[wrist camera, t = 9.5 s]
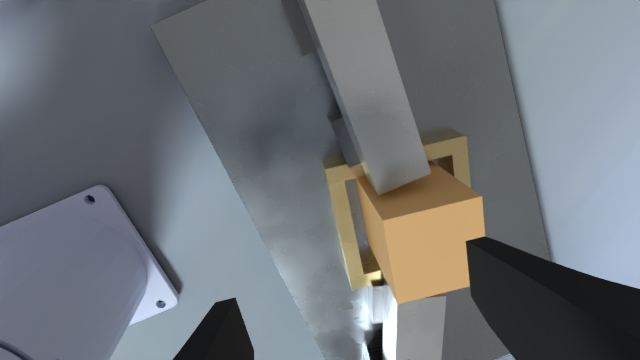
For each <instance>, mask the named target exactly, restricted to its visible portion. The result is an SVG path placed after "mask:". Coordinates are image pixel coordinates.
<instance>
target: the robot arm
mask: <svg viewBox="0 0 640 360" xmlns="http://www.w3.org/2000/svg"><path fill="white" fill-rule="evenodd" d="M88 195H91V196H93V197H94V199H95V202H92V201H90V200H89V199H88ZM466 250H467V261H468V271H469V282H470V292H471V297H472V299H473V300H474V302H475V304H476V306H477V307H478V309H479V311H480V312H481V314H482V316H483V317H484V319H485V320H486V322H487V324H488V325H489V326H490V328H491V329H492V330H493V332H494V333H495V334H496V335H497V337H498V338H499V339H500V341H501V342H502V343H503V344H504V346H505V347H506V348H507V349H508V351H509V352H510V353H511V354H512V356H513V357H514V358H515V359H516V360H640V289H637V288H634V287H630V286H626V285H622V284H619V283H615V282H611V281H608V280H604V279H601V278H598V277H594V276H591V275H588V274H585V273H582V272H579V271H576V270H573V269H570V268H567V267H564V266H562V265H559V264H556V263H553V262H551V261H548V260H545V259H543V258H540V257H538V256H535V255H532V254H530V253H527V252H525V251H522V250H520V249H517V248H515V247H512V246H510V245H507V244H505V243H502V242H500V241H497V240H494V239H492V238H489V237H485V236H484V237H480V238H476V239H472V240H468V241H466ZM159 300H162V301H164V302H165V304H161V303H160V302H159ZM178 301H179V294H178V293H177V291H176V289H175V288H174V286H173V285H172V283H171V282H170V280H169V279H168V277H167V276H166V274H165V273H164V271H163V270H162V268H161V267H160V265H159V264H158V262H157V261H156V259H155V258H154V256H153V254H152V253H151V251H150V250H149V248H148V247H147V245H146V244H145V242H144V241H143V239H142V238H141V236H140V235H139V233H138V232H137V230H136V229H135V227H134V226H133V224H132V222H131V221H130V219H129V218H128V216H127V215H126V213H125V212H124V210H123V209H122V207H121V206H120V204H119V203H118V201H117V200H116V198H115V197H114V195H113V194H112V192H111V190H110V189H109V188H108V187H106V186H104V185H96V186H93V187H91V188H89V189H87V190H84V191H82V192H80V193H77V194H75V195H73V196H70V197H68V198H66V199H63V200H61V201H59V202H56V203H54V204H52V205H49V206H47V207H45V208H42V209H40V210H38V211H36V212H33V213H31V214H29V215H26V216H24V217H22V218H19V219H17V220H15V221H12V222H10V223H8V224H5V225H3V226H1V227H0V360H109V359H110V358H111V356H112V354H113V352H114V350H115V349H116V347H117V345H118V343H119V341H120V340H121V338H122V336H123V334H124V332H125V331H126V329H127V327H128V326H129V325H132V324H134V323H136V322H139V321H141V320H144V319H146V318H148V317H151V316H153V315H156V314H158V313H160V312H163V311H165V310H168V309H170V308H172V307H174V306H176V305H177V303H178ZM173 360H254V349H253V346H252V344H251V341H250V338H249V335H248V332H247V329H246V326H245V324H244V321H243V318H242V315H241V312H240V309H239V307H238V304H237V301H236V298H232V299H228V300H224V301H220V302H216V303H215V304H214V305H213V307H212V308H211V309H210V310H209V312H208V313H207V315H206V316H205V317H204V319H203V320H202V321H201V323H200V324H199V326H198V327H197V328H196V330H195V331H194V332H193V334H192V335H191V336H190V338H189V339H188V340H187V342H186V343H185V344H184V346H183V347H182V348H181V350H180V351H179V352H178V354H177V355H176V356H175V357H174V359H173Z"/></svg>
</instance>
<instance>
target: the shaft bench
mask: <svg viewBox="0 0 640 360" xmlns="http://www.w3.org/2000/svg"><path fill="white" fill-rule="evenodd" d="M150 27H151V29H152V31H153V33H154V35H155V37H156V39H157V41H158V43H159V44H160V46H161V48H162V50H163V52H164V54H165V56H166V58H167V60H168V62H169V63H170V65H171V67H172V69H173V71H174V73H175V75H176V77H177V79H178V80H179V82H180V84H181V86H182V88H183V90H184V92H185V94H186V96H187V98H188V99H189V101H190V103H191V105H192V107H193V109H194V111H195V113H196V115H197V117H198V118H199V120H200V122H201V124H202V126H203V128H204V130H205V132H206V134H207V136H208V137H209V139H210V141H211V143H212V145H213V147H214V149H215V151H216V153H217V155H218V156H219V158H220V160H221V162H222V164H223V166H224V168H225V170H226V172H227V173H228V175H229V177H230V179H231V181H232V183H233V185H234V187H235V189H236V191H237V192H238V194H239V196H240V198H241V200H242V202H243V204H244V206H245V208H246V210H247V211H248V213H249V215H250V217H251V219H252V221H253V223H254V225H255V227H256V229H257V230H258V232H259V234H260V236H261V238H262V240H263V242H264V244H265V246H266V248H267V249H268V251H269V253H270V255H271V257H272V259H273V261H274V263H275V265H276V266H277V268H278V270H279V272H280V274H281V276H282V278H283V280H284V282H285V284H286V285H287V287H288V289H289V291H290V293H291V295H292V297H293V299H294V301H295V303H296V304H297V306H298V308H299V310H300V312H301V314H302V316H303V318H304V320H305V322H306V323H307V325H308V327H309V329H310V331H311V333H312V335H313V337H314V339H315V341H316V342H317V344H318V346H319V348H320V350H321V352H322V354H323V356H324V358H325V359H326V360H494V359H497V358H499V357H502V356H504V355H507V354H509V353H510V352H509V351H508V349H507V348H506V347H505V346H504V344H503V343H502V342H501V341H500V339H499V338H498V337H497V335H496V334H495V333H494V332H493V330H492V329H491V328H490V326H489V325H488V324H487V322H486V320H485V319H484V317H483V316H482V314H481V312H480V311H479V309H478V307H477V306H476V304H475V302H474V300H473V299H472V297H471V292H470V286H469V287H465V288H461V289H457V290H453V291H449V292H445V293H441V294H437V295H433V296H429V297H425V298H421V299H417V300H413V301H409V302H405V303H401V304H397V302H396V300H395V298H394V296H393V294H392V292H391V290H390V287H389V285H388V283H387V281H386V279H385V277H384V275H383V273H382V270H381V268H380V266H379V264H378V262H377V260H376V258H375V256H374V254H373V251H372V249H371V247H370V245H369V243H368V238H367V233H366V228H365V223H364V218H363V213H362V208H361V202H360V197H359V192H358V187H357V182H356V178H358V177H362V176H366V178H367V179H368V181H369V182H370V184H371V185H372V186H373V188H374V189H375V191H376V192H377V194H378V195H381V194H383V193H386V192H388V191H390V190H393V189H395V188H398V187H400V186H402V185H405V184H407V183H410V182H412V181H414V180H417V179H419V178H421V177H424V176H426V175H429V174H431V170H430V167H429V164H428V161H429V160H431V161H432V162H434V163H435V164H437V165H438V166H440V167H441V168H442V169H444V170H445V171H447V172H448V173H450V174H451V175H452V176H454V177H455V178H457V179H458V180H460V181H461V182H462V183H464V184H465V185H467V186H468V187H469V188H471V189H472V190H474V191H475V192H477V193H478V194H479V195H481V196H482V202H483V215H484V228H485V237H489V238H492V239H494V240H497V241H500V242H502V243H505V244H507V245H510V246H512V247H515V248H517V249H520V250H522V251H525V252H527V253H530V254H532V255H535V256H538V257H540V258H543V259H545V260H548V261H551V259H550V254H549V250H548V245H547V241H546V236H545V231H544V227H543V222H542V218H541V213H540V209H539V204H538V200H537V195H536V190H535V186H534V181H533V177H532V172H531V168H530V163H529V158H528V154H527V149H526V145H525V140H524V136H523V131H522V127H521V122H520V117H519V113H518V108H517V104H516V99H515V95H514V90H513V85H512V81H511V76H510V72H509V67H508V63H507V58H506V54H505V49H504V44H503V40H502V35H501V31H500V26H499V22H498V17H497V12H496V8H495V3H494V0H206V1H204V2H202V3H199V4H197V5H195V6H193V7H190V8H188V9H186V10H184V11H181V12H179V13H177V14H175V15H172V16H170V17H168V18H166V19H163V20H161V21H159V22H157V23H154V24H152V25H150Z"/></svg>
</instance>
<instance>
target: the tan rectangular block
mask: <svg viewBox="0 0 640 360" xmlns="http://www.w3.org/2000/svg"><path fill="white" fill-rule="evenodd" d="M428 164H429V167H430V170H431V174H429V175H426V176H424V177H421V178H419V179H417V180H414V181H412V182H410V183H407V184H405V185H402V186H400V187H398V188H395V189H393V190H390V191H388V192H386V193H383V194H381V195H378V194H377V192H376V191H375V189H374V188H373V186H372V185H371V184H370V182H369V181H368V179H367V178H366V176H362V177H358V178H356V182H357V187H358V192H359V197H360V202H361V208H362V213H363V218H364V223H365V228H366V233H367V238H368V243H369V245H370V247H371V249H372V251H373V254H374V256H375V258H376V260H377V262H378V264H379V266H380V268H381V270H382V273H383V275H384V277H385V279H386V281H387V283H388V285H389V287H390V290H391V292H392V294H393V296H394V298H395V300H396V302H397V304H401V303H405V302H409V301H413V300H417V299H421V298H425V297H429V296H433V295H437V294H441V293H445V292H449V291H453V290H457V289H461V288H465V287H469V286H470V282H469V271H468V261H467V250H466V241H468V240H472V239H476V238H480V237H484V236H485V228H484V215H483V202H482V196H481V195H479V194H478V193H477V192H475V191H474V190H472V189H471V188H469V187H468V186H467V185H465V184H464V183H462V182H461V181H460V180H458V179H457V178H455V177H454V176H452V175H451V174H450V173H448V172H447V171H445V170H444V169H442V168H441V167H440V166H438V165H437V164H435V163H434V162H432V161H431V160H429V161H428Z"/></svg>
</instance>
